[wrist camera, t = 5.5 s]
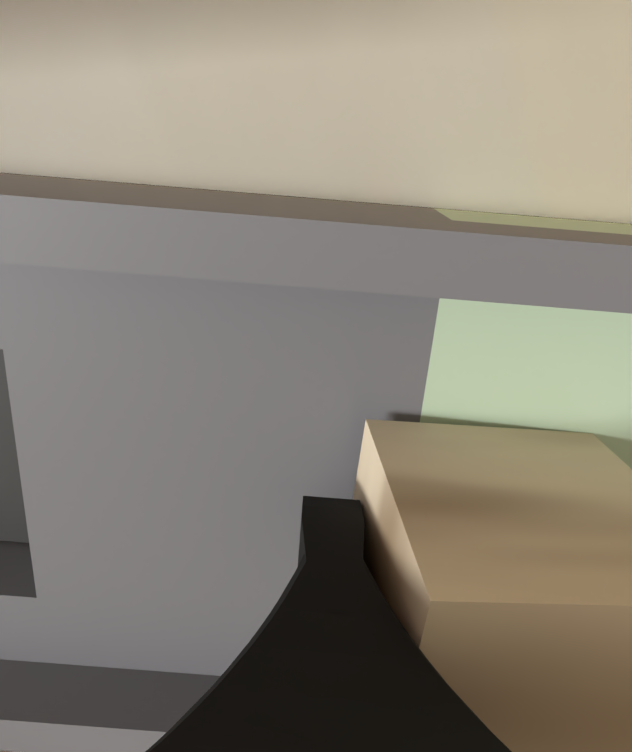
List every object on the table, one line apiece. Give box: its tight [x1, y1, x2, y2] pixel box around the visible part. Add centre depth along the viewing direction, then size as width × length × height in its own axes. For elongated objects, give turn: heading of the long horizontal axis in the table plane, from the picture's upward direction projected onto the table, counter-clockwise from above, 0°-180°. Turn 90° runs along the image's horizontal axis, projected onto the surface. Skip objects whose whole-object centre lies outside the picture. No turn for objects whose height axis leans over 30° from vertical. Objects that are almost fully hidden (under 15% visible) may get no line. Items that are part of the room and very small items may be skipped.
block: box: [353, 419, 632, 752], centre depth 10 cm, size 4×4×4 cm
